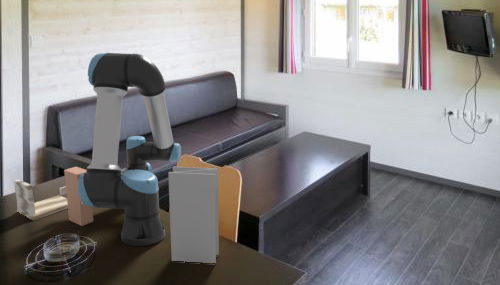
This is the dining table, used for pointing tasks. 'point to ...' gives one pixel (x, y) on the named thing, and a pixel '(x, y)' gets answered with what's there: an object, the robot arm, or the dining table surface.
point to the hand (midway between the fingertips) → (70, 196)
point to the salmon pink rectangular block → (76, 198)
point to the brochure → (194, 214)
